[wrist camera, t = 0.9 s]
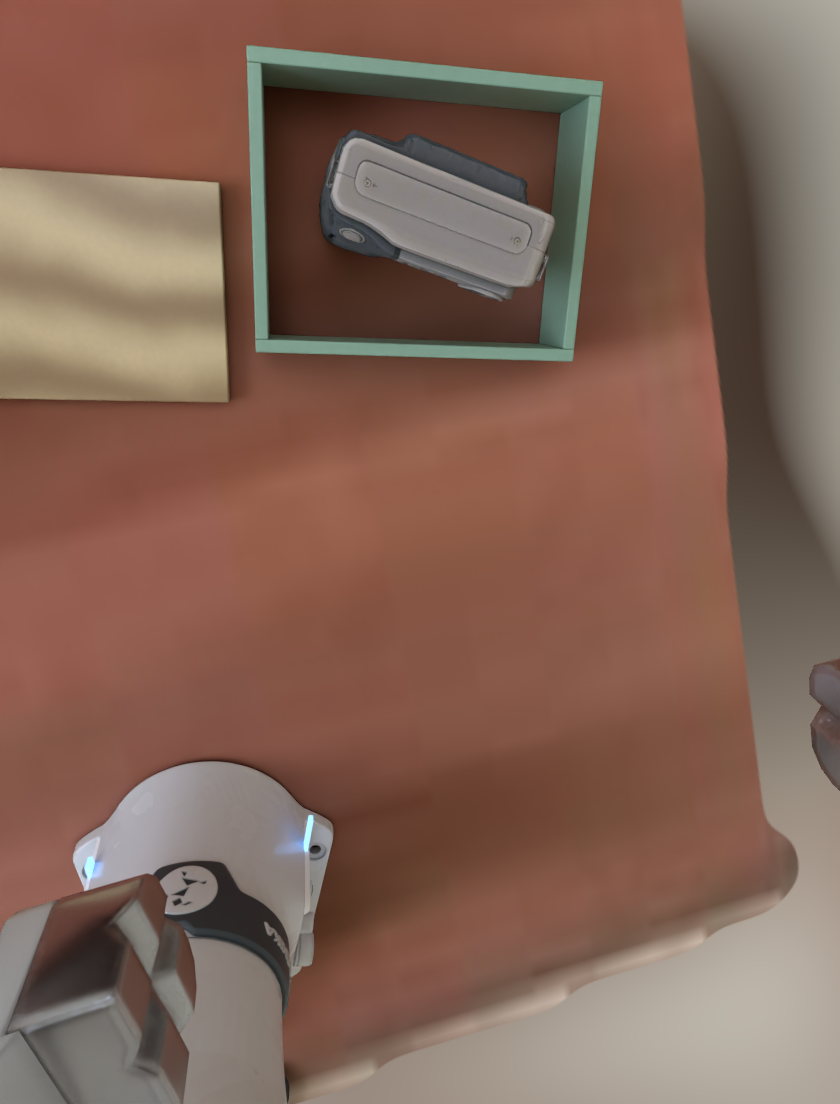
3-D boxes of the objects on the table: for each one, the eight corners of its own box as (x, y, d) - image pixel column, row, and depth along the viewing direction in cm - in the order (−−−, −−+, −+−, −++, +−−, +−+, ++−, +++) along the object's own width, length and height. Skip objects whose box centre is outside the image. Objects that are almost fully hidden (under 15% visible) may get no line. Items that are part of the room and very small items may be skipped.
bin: (547, 355, 48) (573, 361, 43) (258, 345, 44) (255, 352, 40) (572, 100, 43) (604, 81, 39) (250, 69, 40) (246, 44, 35)
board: (230, 400, 45) (229, 402, 44) (-133, 393, 42) (-143, 396, 41) (220, 184, 41) (219, 182, 40) (-183, 156, 38) (-194, 153, 37)
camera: (305, 238, 43) (312, 224, 34) (335, 134, 41) (351, 89, 32) (481, 307, 46) (532, 313, 37) (516, 213, 44) (577, 194, 35)
